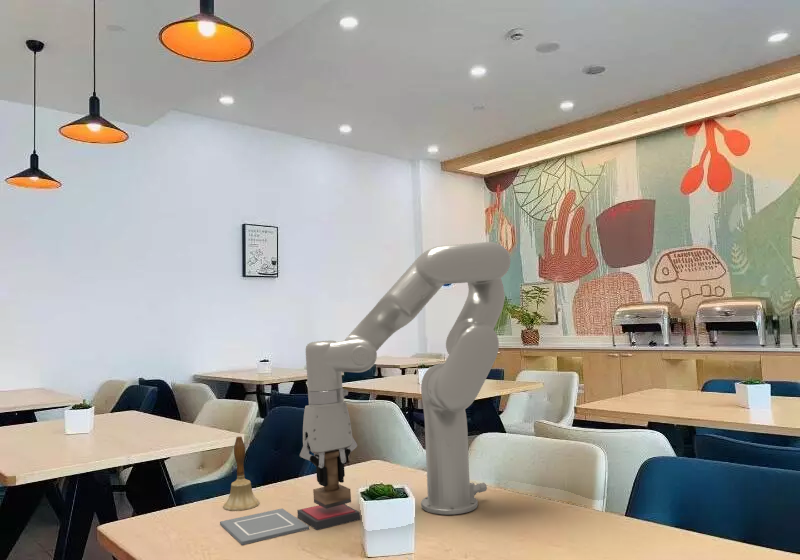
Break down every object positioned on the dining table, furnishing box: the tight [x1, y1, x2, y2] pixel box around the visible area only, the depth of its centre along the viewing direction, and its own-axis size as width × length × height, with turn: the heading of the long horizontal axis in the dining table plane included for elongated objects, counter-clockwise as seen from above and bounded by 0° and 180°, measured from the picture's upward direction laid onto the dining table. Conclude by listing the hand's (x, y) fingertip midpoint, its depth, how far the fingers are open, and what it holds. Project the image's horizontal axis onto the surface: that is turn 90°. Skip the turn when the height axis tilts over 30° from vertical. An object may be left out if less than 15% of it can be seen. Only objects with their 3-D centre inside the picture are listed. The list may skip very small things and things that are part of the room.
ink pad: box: [296, 504, 361, 531], centre depth 129 cm, size 10×10×2 cm
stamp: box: [312, 450, 352, 509], centre depth 130 cm, size 6×6×11 cm
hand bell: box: [222, 436, 261, 512], centre depth 142 cm, size 8×8×16 cm
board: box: [219, 508, 310, 546], centre depth 126 cm, size 14×15×1 cm
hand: (331, 482), depth 130 cm, fingers closed on stamp, 3 cm apart
